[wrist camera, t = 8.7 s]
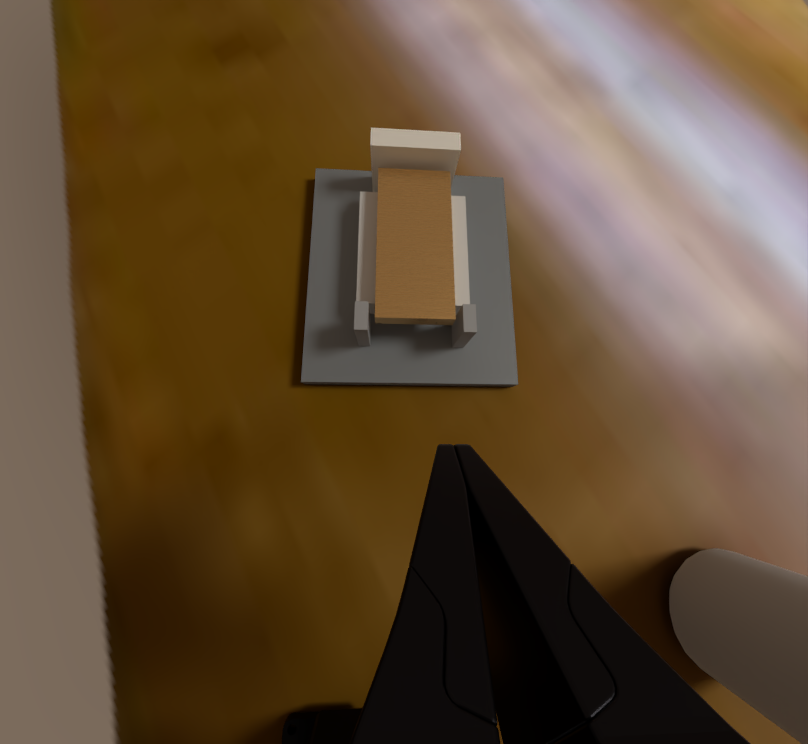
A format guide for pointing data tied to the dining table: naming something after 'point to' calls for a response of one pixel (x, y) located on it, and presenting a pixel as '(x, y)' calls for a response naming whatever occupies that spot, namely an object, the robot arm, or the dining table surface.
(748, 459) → the dining table surface
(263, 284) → the dining table surface
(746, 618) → the can
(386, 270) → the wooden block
